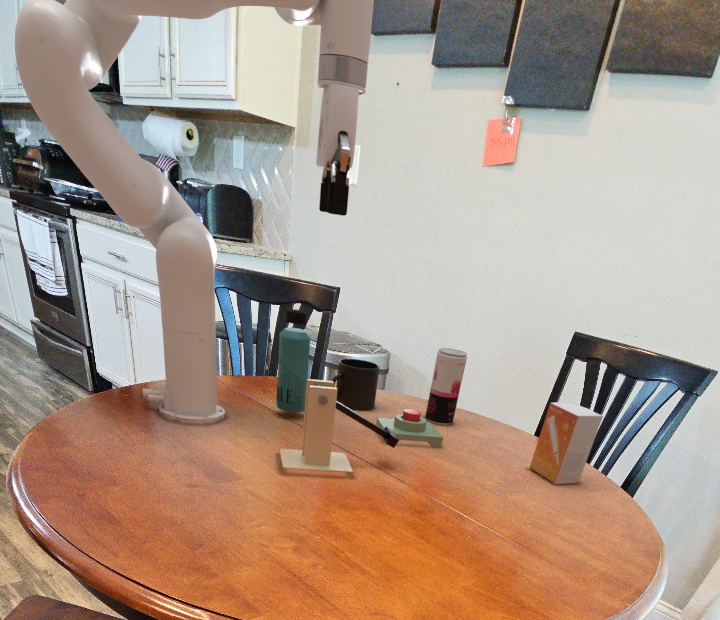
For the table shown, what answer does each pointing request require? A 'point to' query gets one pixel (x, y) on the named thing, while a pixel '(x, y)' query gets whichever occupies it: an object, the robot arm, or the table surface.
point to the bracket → (317, 432)
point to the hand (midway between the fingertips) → (332, 213)
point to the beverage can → (445, 386)
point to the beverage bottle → (293, 364)
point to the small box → (565, 442)
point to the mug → (357, 383)
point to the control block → (412, 430)
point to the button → (411, 415)
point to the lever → (369, 424)
